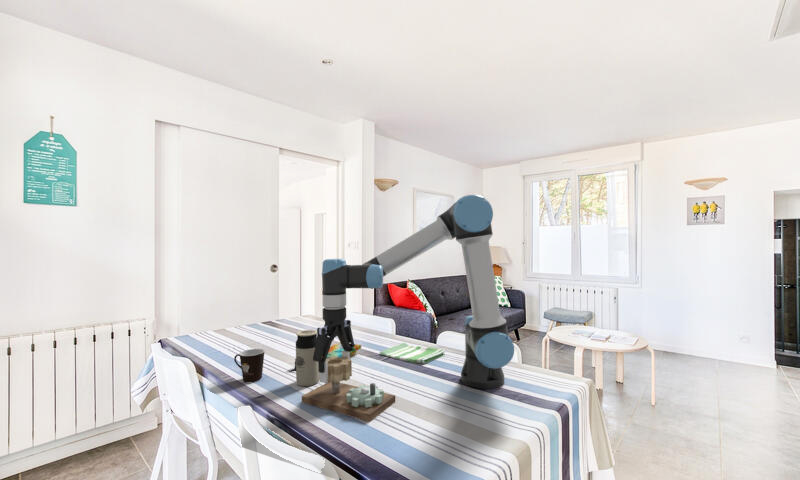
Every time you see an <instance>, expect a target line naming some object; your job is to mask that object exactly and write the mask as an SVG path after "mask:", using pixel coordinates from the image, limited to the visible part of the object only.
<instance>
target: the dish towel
mask: <svg viewBox="0 0 800 480" xmlns="http://www.w3.org/2000/svg"><path fill="white" fill-rule="evenodd" d="M379 355H380V356H384V357H388V358H392V359H395V360H400V361H404V362H409V363H415V364H423V365H424V364H427V363H430V362H432V361H434V360H436V359H438V358H441V357H443V356H445V355H446V354H445V350H444V349H441V348H436V347H435V348H434V347H428V346H427V347H425V346H419V345H417V346H414V345H410V344H408V343H406V342H401V343H400V344H398V345H395V346H392V347H390V348H386V349H384V350H381V351H380V352H379Z"/></svg>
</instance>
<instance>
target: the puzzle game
mask: <svg viewBox="0 0 800 480" xmlns="http://www.w3.org/2000/svg"><path fill="white" fill-rule="evenodd" d="M354 345H355V346H354V348H353V347H352V348H353V351H350V358H352V357H353V356H355V354H357V351H359V350H361V349H362V345H361V344H356V343H354ZM342 351H345V350H344V349H343V347H342V345H341V343H340V342H338V343H335V344H333V345H332V344H331V346H330V349H329V352H328V355H327V359H328V358H331V357H334V356H337V357H342ZM322 358H323V356H322Z"/></svg>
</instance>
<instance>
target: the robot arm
mask: <svg viewBox="0 0 800 480" xmlns="http://www.w3.org/2000/svg"><path fill="white" fill-rule="evenodd" d="M493 217H494V211H493V207H492V205H491V203H490V201H489V200H487V198H485V197H483V196H481V195H479V194H467V195H464V196H462V197H460V198H458V200H457V201H455V202H454V203H453V204H452V205H451V206H450V207H449V208H448V209H447V210H445V211H444V212H443V213H441V214H440V215H438V216H436V220H434V221H433V222H431V223H429V224H428V225H426V226H425V227H423V228H422V229H419V230H418V231H416V232H415V233H413V234H412V235H409V236H408V237H407V238H404V239H403V240H402V241H400V242H398V243H396V244H395V245H393V246H391V247H390V248H388V249H386V250H385V251H383V252H381V253H380V254H378V255H376V256H375V257H373V258H371V259H370V260H368V261H366V262H364V263H362V264H347V262H346V259H345V258H330V259H329V258H327V259H324V260H323V262H322V266H321V267H322V269H321V270H322V271H321V278H322V283H321V284H322V307H323V308H322V320H323V321H324V326H322V327H317V329H316V331H317V340H316V345H315V351H314V356H313V361H317V362H318V367H319V368H318V371H319V378H320V380H319V383H323V384H326V383H328V361H326V358H327V355H328V352H329V349H330V346H332V344H333V343H332V342H333V341H334V340H335V338H336V337H337V338H338V340H339V343H341V345H342V347H343V349H344V350H345V351H342V357H347V359H351V357H350V351H353V348H354V346H355V345H354V344H355V342H354V336H353V332H352V327H351V325H352V322H351V320H349V319H347V308H346V307H347V289H379V288H380V289H381V288H382V287H383V285H384V277H386V276H387V275H388V274H391V273H392V272H394V271H395V270H398V268H401V267H402V266H404V265H405V264H408V263H409V262H410V261H412V260H413V259H416V258H417V257H419V256H420V255H422V254H424V253H426V252H427V251H429V250H431V249H432V248H434V247H436V246H438V245H440V244H441V243H443V242H444V241H446V240H453V239H455V240H456V242H457V243H458V244H460V245H461V250H462V255H463V261H464V270H465V275H466V281H467V288H468V295H469V301H470V306H471V312H472V315H468V316H466V317H465V318H464V335H465V337H464V339H465V341H464V342H465V343H464V344H465V352H464V353H465V359H464V361H463V362H464V363H463V365H462V369H461V373H460V380H461V383H463V384H464V385H466V386H469V387H472V388H475V389H483V390H484V389H485V390H486V389H496V388H500V387H502V386H503V385H504V384H505V373H504V370H503V367H505V366H507V365H508V364H509V363H510V362H511V360H513V357H514V355H515V346H514V342H513V340H512V338H511V337H510V336H509V335H510V334H509V329H508V323H507V320H506V318H504V317H503V316H502V315H501V309H500V304H499V299H498V292H497V285H496V277H495V273H494V266H493V260H492V255H491V248H490V247H491V246H490V239H491V238H492V237H493V235H494V234H493V228H492V222H493ZM352 347H353V348H352ZM322 356H323V358H322Z"/></svg>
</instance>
